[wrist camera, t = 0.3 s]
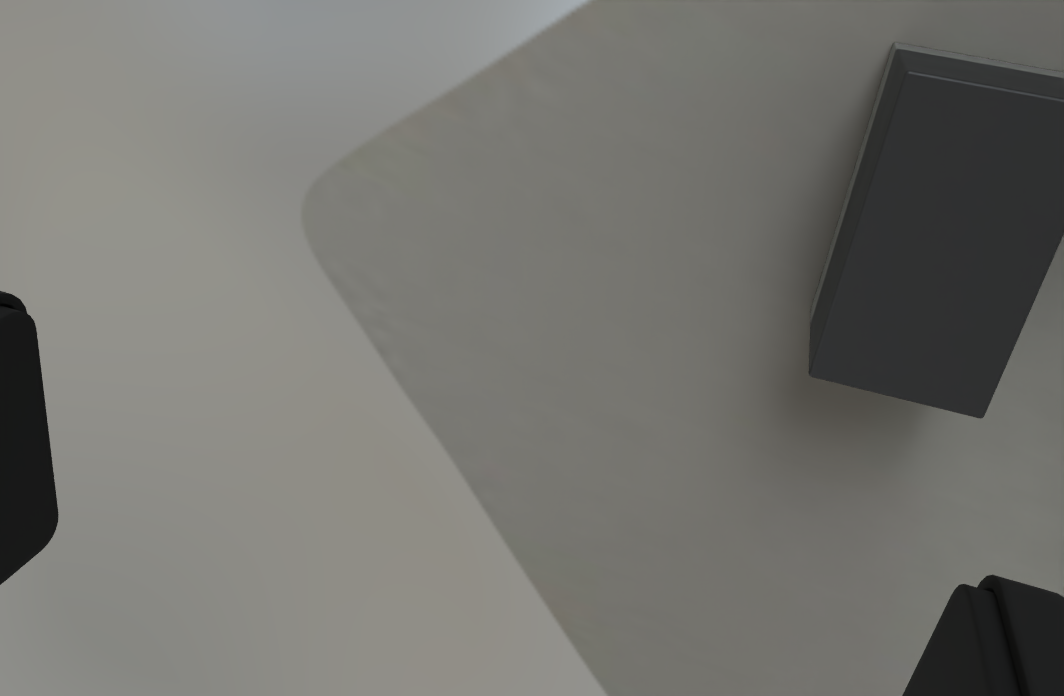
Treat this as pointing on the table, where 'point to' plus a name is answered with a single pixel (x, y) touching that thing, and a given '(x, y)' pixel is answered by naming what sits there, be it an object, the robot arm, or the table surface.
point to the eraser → (943, 230)
